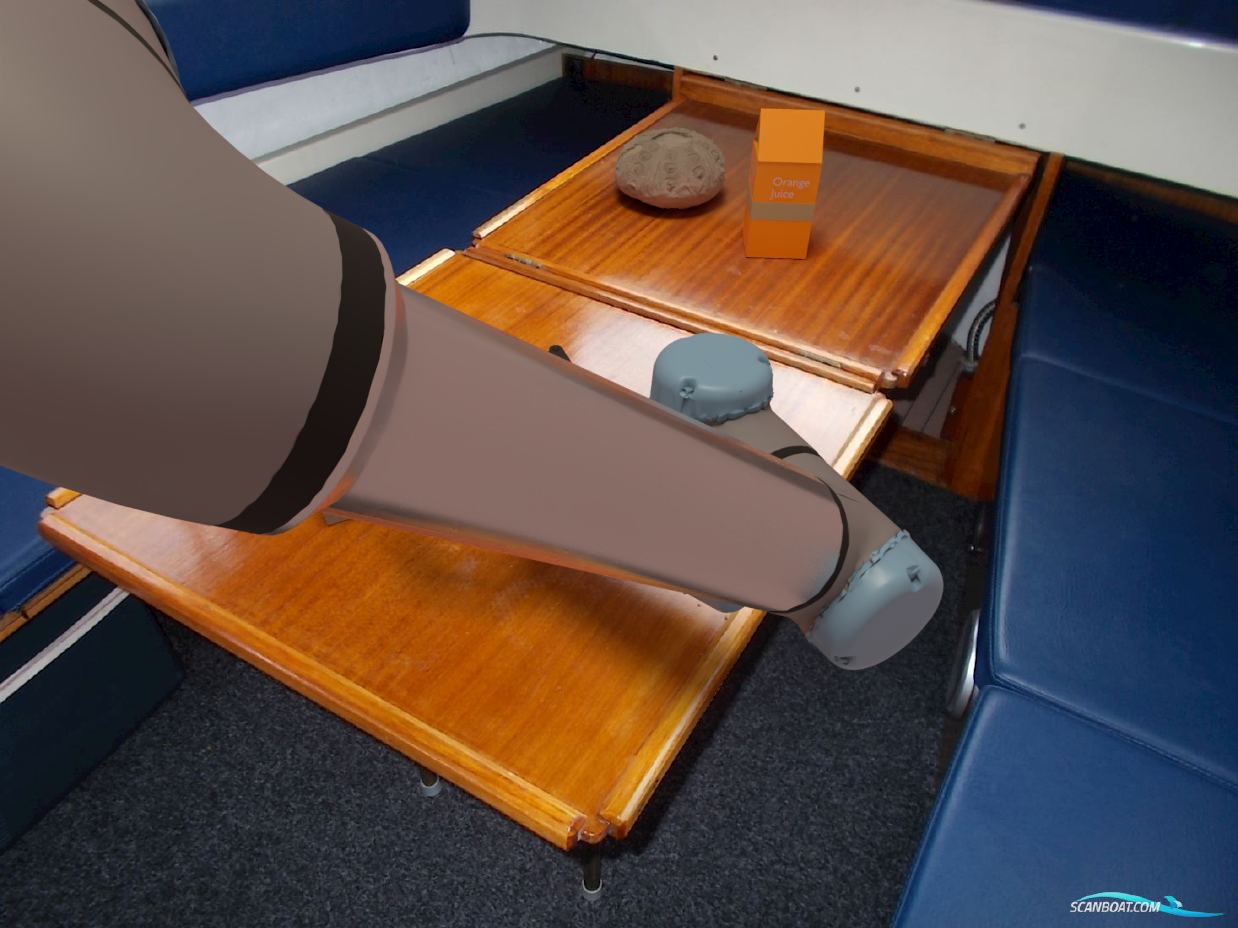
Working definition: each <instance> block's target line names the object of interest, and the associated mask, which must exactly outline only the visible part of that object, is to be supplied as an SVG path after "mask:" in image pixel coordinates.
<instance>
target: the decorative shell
mask: <svg viewBox="0 0 1238 928" xmlns="http://www.w3.org/2000/svg"><path fill="white" fill-rule="evenodd" d="M723 153H724V150H722V149H720V148H719V147H718V145H717V144H716V143H715V141H714V139H710V138H708V137H707V136H706V135H703V134H701V133H699V132H698V133H697V132H696V131H695V130H691V129H689V128H685V127H677V126H674V127H669V128H666V127H665V128H659V129H658V128H657V129H656V128H652V129H651V130H647V131H644V132H642V133H639V134H637V135H634V136H633V138H631V139H630V140H629V141H628V142H627V143H626V144H623V145H622V148H621V149H620V152H619V153H618V156H617V159H616V162H615V165H614V169H613V172H614V176H615V182H616V185H617V187H618V189H619V190H620V191H621V192H622V193H623V194H625V195H627V196H629V197H630V198H633V199H636V200H638V201H640V202H642V203H644V204H647V205H650V206H652V207H653V206H654V207H656V208H661V209H664V208H665V209H664V210H671V209H670V208H675V209H676V208H678V209H677V210H684V209H688V208H692V207H698V206H700V205H702V204H704V203H708V202H709V201H711V200H712V199H713V198H715V196H716V195H717V194H719V192H720V191H721V189H722V187H723V186H724V183H725V181H726V175H727V172H726V169H727V167H726V158H725V157H724V155H723Z"/></svg>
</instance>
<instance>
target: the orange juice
mask: <svg viewBox="0 0 1238 928" xmlns="http://www.w3.org/2000/svg"><path fill="white" fill-rule="evenodd" d="M825 117H826V110H824V109H796V108H795V109H792V108H791V109H790V108H789V109H788V108H762V107H761V108H760V111H759V117H758V120H757V125H756V129H755V133H754V138H753V140H752V141H753V142H752V149H751V159H750V166H749V175H748V180H747V189H746V202H745V209H744V218H743V227H742V234H743V235H742V239H743V238H744V242H743V247H744V246H745V249H744V255H745V254H746V256H748V257H771V258H773V257H775V258H778V257H779V258H802V259H804V258H806V259H807V253H808V247H809V242H810V236H811V230H812V225H813V222H814V215H815V210H816V202H817V197H818V196H817V195H818V190H819V184H820V179H821V173H822V166H823V153H824V152H823V151H824V137H825V136H824V135H825V134H824V133H825V119H826V118H825ZM746 256H745V257H746Z"/></svg>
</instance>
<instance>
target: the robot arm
mask: <svg viewBox="0 0 1238 928" xmlns="http://www.w3.org/2000/svg"><path fill="white" fill-rule="evenodd" d="M179 75H180V74H179V68H178V65H177V62H176V58H175V56H174V53H173V50H172V48H171V45H170V42H169V40H168V38H167V36H166V33H165V31H164V30H163V28H162V26H161V24H160V22H159V20H158V19H157V17H156V16H155V14H154V13H153V12H152V11H151V9H150V7H149V6H148V5H147V3H146V1H145V0H0V466H1V467H3V468H5V469H8V470H11V471H13V472H16V473H19V474H22V475H24V476H27V477H29V478H32V479H35V480H37V481H41V482H43V483H46V484H49V485H52V486H54V487H55V486H56V487H58V488H62V489H65V490H68V491H72V492H75V493H78V494H80V495H81V494H82V495H85V496H88V497H92V498H95V499H98V500H100V501H101V500H102V501H105V502H108V503H110V504H114V505H118V506H121V507H125V508H130V509H133V510H136V511H142V512H145V513H149V514H154V515H157V516H163V517H167V518H170V519H175V520H179V521H183V522H188V523H189V522H190V523H195V524H200V525H203V526H209V527H217V528H222V529H227V530H233V531H236V532H237V531H238V532H243V533H248V534H250V535H251V534H253V535H258V536H264V537H265V536H267V537H268V536H269V537H272V536H277V535H281V534H284V533H287V532H288V531H291V530H292V529H294V528H296V527H298V526H299V525H301V524H302V523H304V522H305V521H306V520H308V519H309V518H310V517H312V516H313V515H315V514H316V513H322V514H323V513H326V514H330V515H335V516H339V517H344V518H348V519H347V520H352V521H358V522H362V523H367V524H371V525H375V526H380V527H384V528H389V529H393V530H399V531H403V532H407V533H412V534H415V535H421V536H426V537H431V538H435V539H437V540H438V539H439V540H443V541H448V542H452V543H456V544H460V545H466V546H470V547H475V548H479V549H482V550H483V549H484V550H488V551H491V552H497V553H502V554H505V555H511V556H516V557H519V558H524V559H529V560H532V561H536V562H542V563H547V564H551V565H555V566H560V567H564V568H569V569H574V570H578V571H582V572H587V573H592V574H595V575H599V576H600V575H601V576H604V577H610V578H613V579H619V580H623V581H628V582H630V583H631V582H632V583H636V584H639V585H640V584H641V585H646V586H650V587H654V588H659V589H662V590H668V591H672V592H677V593H681V594H682V595H688V596H690V597H692V598H694V599H695V600H698V602H699V601H700V602H701V603H703V604H705V605H707V606H708V607H710V608H712V609H714V610H716V611H718V612H719V613H724V614H731V613H736V612H738V611H740V610H742V609H743V608H749V609H753V610H758V611H762V612H766V613H770V614H772V615H776V616H780V617H781V616H782V617H786V618H788V619H790V620H791V621H792V622H793V623H795V624H796V625H797V626H798V627H799V629H800V630H801V631H802V633H803V634H804V638H805V639H806V641H807V642H808V643H809V644H812V645H814V646H815V647H816V648H817V649H818V650H819V651H820V652H821V654H823V655H824V657H826V658H827V659H828V660H829V661H830V662H831V663H832V664H833V665H835V666H837V667H839V668H841V669H844V670H847V671H857V670H858V671H859V670H864V669H867V668H871V667H874V666H877V665H878V664H880V663H882V662H884V661H886V660H888V659H889V658H891V657H893V656H894V655H895V654H897V653H898V652H900V651H901V650H902V649H903V648H905V647H906V646H908V645H909V644H910V643H911V642H912V641H913V639H915V638H916V637H917V636H918V635H919V634H920V633H921V631H922V630H923V629H924V628H925V626H926V625H928V623H929V621H930V620H931V619H932V617H933V616H934V615H935V613H936V611H937V609H938V607H939V605H940V603H941V600H942V596H943V593H944V579H943V575H942V572H941V570H940V568H939V567H938V566H937V564H936V563H935V562H934V561H933V560H932V559H931V558H930V556H928V555H927V553H925V552H924V551H923V550H922V549H921V547H920V546H919V545H918V544H917V542H915V541H914V540H913V538H911V533H910V532H908V531H907V530H906V529H905V528H903V530H902V529H901V528H900V527H899V526H898V525H897V524H896V523H894V522H893V521H892V520H891V519H890V518H889V517H888V516H887V515H886V514H885V513H884V512H883V511H881V510H880V509H879V508H878V507H877V506H876V505H874V504H873V502H871V501H870V500H869V499H868V497H866V496H865V495H863V494H862V493H861V492H860V491H859V490H858V489H857V488H856V487H855V486H853V485H852V484H851V483H850V482H849V481H848V480H847V479H846V478H845V477H843V476H842V475H841V474H840V473H839V472H838V471H837V470H836V469H835V468H834V467H832V466H831V465H830V464H829V463H828V462H827V461H826V460H825V459H824V458H823V456H822V455H820V453H819V452H818V451H817V450H816V449H815V448H814V447H813V446H812V445H811V444H809V442H807V441H806V439H804V438H803V437H802V436H801V435H800V434H799V433H798V432H797V431H796V430H795V429H793V428H792V427H791V426H790V425H789V424H788V423H787V422H786V421H785V420H784V419H782V418H781V417H780V416H779V415H778V414H777V413H775V411H773V408H772V405H771V402H772V400H773V398H774V394H775V392H774V385H773V384H774V373H773V371H774V369H773V367H772V365H771V362H770V359H769V357H768V355H767V354H766V352H764V350H762V349H761V348H760V347H759V346H757V345H756V344H754V343H752V342H751V341H749V340H746V339H745V338H742V337H739V336H736V335H731V334H725V333H719V332H700V333H694V334H693V335H691V336H687V337H686V336H685V337H680V338H678V339H675V340H674V341H672V342H670V343H668V344H667V345H666V346H665V347H664V348H663V349H662V350H661V351H660V352H659V353H658V355H657V357H656V358H655V361H654V363H653V368H652V374H651V375H652V377H651V384H650V392H649V397H647V396H645V395H643V394H641V393H638V392H637V391H635V390H632V389H629V388H628V387H625V386H624V385H621V384H619V383H617V382H614V381H612V380H611V379H608V378H606V377H603V376H601V375H599V374H598V373H595V372H593V371H591V370H588V369H586V368H585V367H582V366H580V365H577V364H576V363H574V362H572V361H571V359H570V357H569V356H568V355H567V353H566V351H565V350H564V348H563V347H562V346H561V345H559V344H553V345H550V346H549V348H548V350H545V349H543V348H542V347H539V346H536V345H534V344H532V343H530V342H528V341H526V340H523V339H522V338H519V337H518V336H515V335H514V334H511V333H508V332H506V331H504V330H502V329H500V328H498V327H495V326H493V325H491V324H489V323H487V322H485V321H483V320H481V319H478V318H476V317H474V316H471V315H469V314H467V313H465V312H463V311H460V310H459V309H457V308H454V307H452V306H449V305H448V304H446V303H443V302H441V301H440V300H438V299H435V298H432V297H431V296H428V295H426V294H424V293H422V292H419V291H418V290H415V289H412V288H410V287H408V286H406V285H404V284H402V283H400V282H399V281H398V282H396V280H397V279H396V275H395V272H394V268H393V269H392V267H393V265H392V266H391V262H392V261H391V260H390V255H389V254H388V252H387V249H386V248H385V247H384V245H383V242H382V241H381V240H380V239H379V238H378V237H377V236H376V235H375V234H374V233H372V232H370V231H368V230H367V229H366V228H363V227H361V226H360V225H358V224H355V223H353V222H352V221H349V220H347V219H346V218H343V217H341V216H339V215H337V214H334V213H333V212H331V211H329V210H327V209H324V208H323V207H321V206H319V205H318V204H315V203H314V202H312V201H310V200H309V199H307V198H306V197H304V196H302V195H300V194H298V193H297V192H295V191H294V190H292V189H291V188H289V187H288V186H286V185H285V184H284V183H282V182H280V180H278V179H276V178H274V177H273V176H271V175H270V174H269V173H267V172H266V171H264V170H263V169H262V168H260V167H259V166H258V165H257V164H256V163H255V162H254V161H252V160H251V159H249V157H247V156H246V155H245V154H243V153H242V152H241V151H240V150H238V149H237V148H236V147H235V146H234V145H233V144H232V143H231V142H230V141H229V140H227V139H226V138H225V137H224V136H223V135H222V134H220V133H219V132H218V130H216V129H215V128H214V127H213V126H212V125H211V124H210V123H209V122H208V121H207V120H206V118H204V117H203V116H202V115H201V114H200V113H199V111H198V110H197V109H196V108H195V107H194V106H193V105H192V103H191V102H190V101H191V100H189V98H188V96H187V94H186V92H185V90H184V88H183V86H182V84H181V80H180V76H179ZM390 261H391V262H390Z"/></svg>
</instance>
